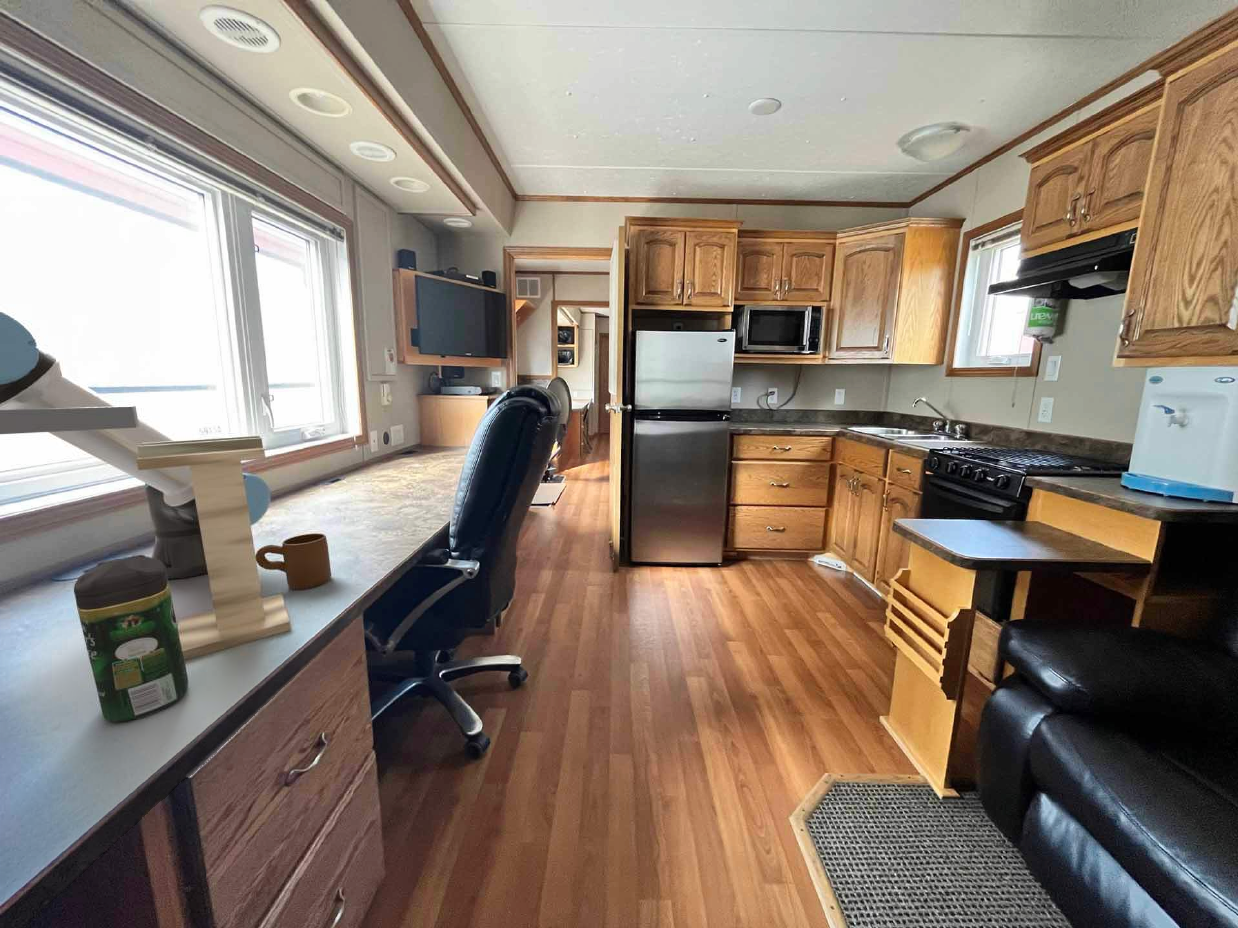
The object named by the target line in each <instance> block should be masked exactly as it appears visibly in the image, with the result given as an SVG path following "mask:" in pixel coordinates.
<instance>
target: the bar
mask: <svg viewBox="0 0 1238 928" xmlns="http://www.w3.org/2000/svg"><path fill="white" fill-rule="evenodd" d="M138 419H139V417H138V412H137V407H136V405H128V406H127V405H126V406H123V405H121V406H118V407H84V408H49V409H14V410H0V435H10V434H11V435H15V434H35V433H36V434H37V433H49V432H58V431H79V430H99V429H119V428H137V427H139V422H138Z"/></svg>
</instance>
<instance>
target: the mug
mask: <svg viewBox="0 0 1238 928" xmlns="http://www.w3.org/2000/svg"><path fill="white" fill-rule="evenodd" d="M281 545H282V546H281ZM281 545H276V544H267V545H264V546H263V547H260V548H259V549H258V550H257V551H256V552H255V556H256V562H257V566H259V567H261V568H262V569H264V570H268V571H269V570H270V571H275V570H277V571H281V572H283V573H285V576H286V582H287V586H288V587H289V588H290V589H292V590H296V591H297V590H308V589H312V588H316V587H320V586H322V585H324V584H326V583H328V582H329V581H330V580H331V579H332V578H331V577H332V570H331V562H330V561H331V560H330V553H329V546H328V545H329V544H328V540H327V536H326V535H325V534H323V533H316V532H315V533H306V534H301V535H300V534H299V535H295V536H292V537H288V538H287V539H285V540H283V541H282V543H281ZM266 554H277V555H282V557H283V561H281V560H272V561H271V560H269V559H268V558H266Z"/></svg>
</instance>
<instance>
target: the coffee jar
mask: <svg viewBox="0 0 1238 928" xmlns="http://www.w3.org/2000/svg"><path fill="white" fill-rule="evenodd" d="M169 583H170V582H169V579H168V578H167V574H166V566H165V565H164V564H163V563H162V561H160V560H158V559H154V558H151V556H150V557H149V556H145V555H144V554H139V555H134V556H128V557H121V558H117V559H111V560H106V561H102V562H99V563H98V564H96V565H95V566H93V567H92V568H90V569H89V570H87V571H85V572H84V573H82V574H81V575H80V576H79V577H78V578H77V580H76V582H75V583H74V587H73V594H74V598H75V603H76V604H75V605H76V608H77V614H78V618H79V622H80V627H81V629H82V635H83V638H84V642H85V649H86V651H87V655H88V660H89V662H90V666H91V671H92V676H93V678H94V684H95V688H96V691H97V695H98V700H99V701H98V702H99V704H100V705H99V706H100V709H101V713H102V717H103V719H104V720H105V721H107V722H108V723H113V724H114V723H118V722H125V721H133V720H138V719H141V718H144V717H147V716H150V715H153V714H156V713H158V712H160V711H162V710H163V709H165V708H167V707H168V706H170V705H172V704H174V703H175V702H179V700H181V699H182V698H183V697H184V696H185V694H186V692H187V690H188V686H189V679H188V673H187V668H186V662H185V661H186V660H184V657H183V652H182V648H181V643H180V638H179V633H178V622H177V618H176V617H177V616H176V614H175V612H176V611H175V607H174V603H173V602H174V601H173V597H172V593H171V588H170V584H169Z"/></svg>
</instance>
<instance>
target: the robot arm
mask: <svg viewBox="0 0 1238 928" xmlns="http://www.w3.org/2000/svg"><path fill="white" fill-rule="evenodd" d="M84 407H119V406H118V405H116V404H114V403H113V402H111V401H110V400H108V399H107V398H105V397H103V396H102V395H100V394H98V393H97V392H95V391H94V390H92V389H90V388H89V387H87V386H85V385H84V384H82V383H81V382H79V381H77V380H76V379H74V378H72V377H71V376H69V375H67V374H66V373H65V372H63V371H62V370H61V365H60V358H59V357H58V356H57V355H55V354H54V353H52V352H51V351H49V350H48V349H46V348H45V347H43V346H41V345H40V344H38V343H37V341H36V337H35V336H34V334H33V333H32V332H31V331H30V329H28V327H27V326H26V325H24V323H22V322H21V321H20V320H18V319H17V318H16V317H14V316H12V315H11V314H9V313H7V312H5V311H4V310H2V309H0V410H14V409H49V408H84ZM138 422H139V427H137V428H119V429H99V430H79V431H58V432H48V433H49V434H51V435H53V436H55V437H57V438H58V439H60V440H62V441H64V442H66V443H68V444H70V445H72V446H74V447H76V448H78V449H79V450H82V451H83V452H86V453H87V454H89V455H91V456H93V457H95V458H97V459H98V460H101V461H103V462H105V463H106V464H108V465H110V466H112V467H113V468H115V469H117V470H119V471H122V472H124V473H125V474H128V475H129V476H131V477H133V478H135V479H137V480H138V481H141V482H143V483H144V490H145V493H146V499H147V503H148V508H149V513H150V518H151V522H152V526H153V533H154V538H155V542H154V546H153V549H152V554H151V556H150V558H154V559H158V560H160V561H162V563H163V564H164V565H165V566H166V574H167V578H168V580H175V579H184V578H191V577H196V576H200V575H205V574H208V570H207V565H206V559H205V553H204V547H203V542H202V536H201V530H200V524H199V519H198V513H197V507H196V501H195V496H194V490H193V484H192V478H191V473H190V467H189V466H179V467H168V468H157V469H146V470H138V465H137V460H136V459H138V458H139V453H138V447H137V446H142V443H152V442H167V441H174V440H173V439H171V438H170V437H168V436H166V435H165V434H163V433H162V432H160V431H158V430H157V429H155V428H153V427H151V426H150V425H148V423H145V422H143V421H142V420H140V418H138ZM243 478H244V485H245V491H246V498H247V504H248V511H249V517H250V524H251V526H253V525H255V524H256V523H258V522H259V521H260V520H262V518H263V517H265V514H266V513H268V512H267V511H268V510H269V508H270V504H271V490H270V487H269V486H268V484H267V482H266V481H265V480H264V479H263V478H261V477H260V476H258V475H255V474H252V473H251V472H243Z"/></svg>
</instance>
